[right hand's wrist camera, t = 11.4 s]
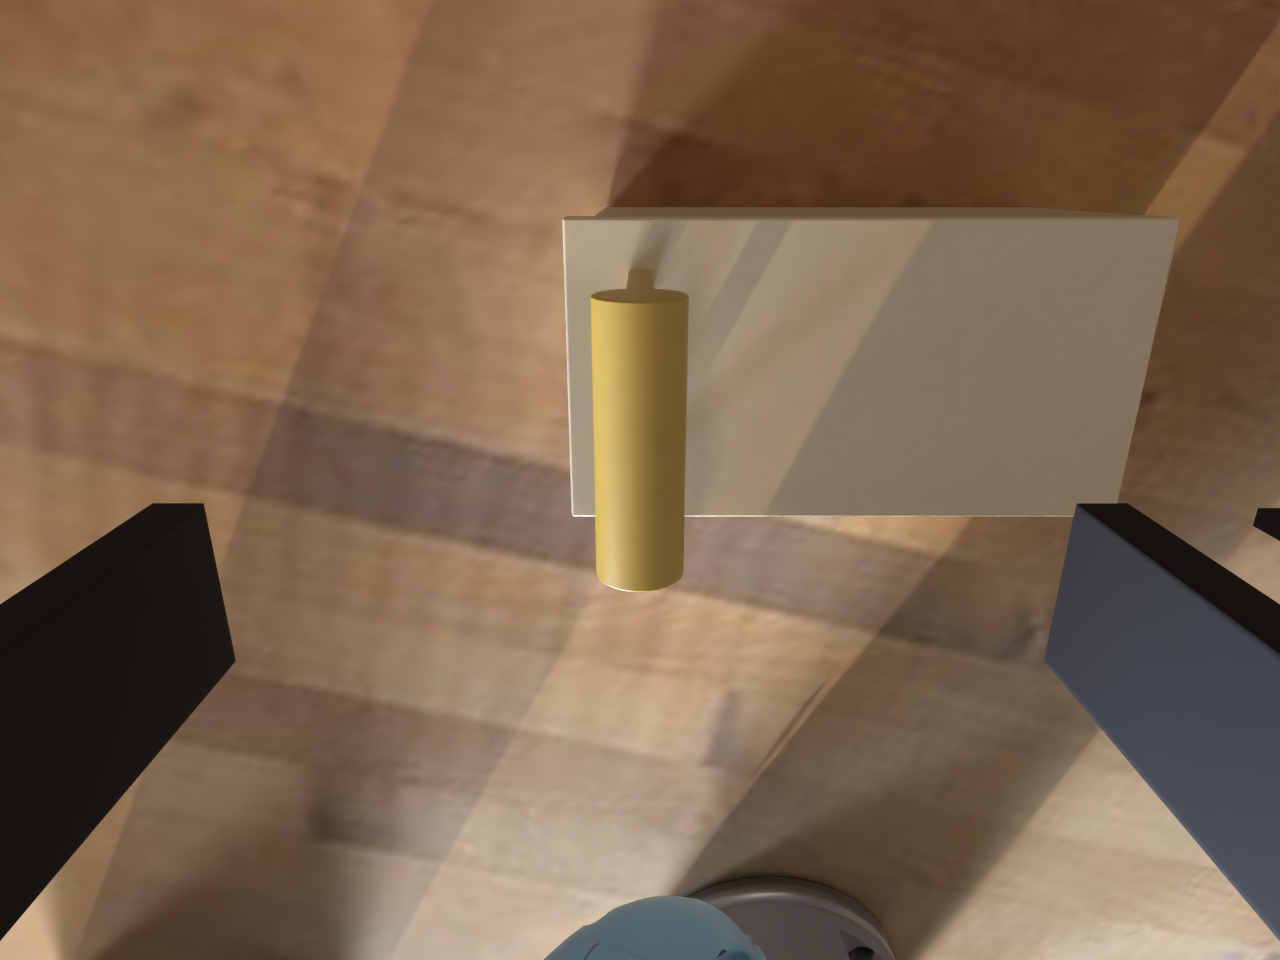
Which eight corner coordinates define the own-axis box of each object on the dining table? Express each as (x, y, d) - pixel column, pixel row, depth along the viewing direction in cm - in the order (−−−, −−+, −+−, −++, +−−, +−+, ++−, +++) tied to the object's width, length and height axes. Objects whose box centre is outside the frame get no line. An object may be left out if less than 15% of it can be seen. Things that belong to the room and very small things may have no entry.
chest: (608, 430, 36) (599, 506, 28) (605, 206, 33) (593, 216, 24) (993, 430, 36) (1100, 506, 28) (1029, 207, 33) (1163, 216, 24)
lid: (573, 506, 28) (546, 641, 20) (564, 216, 24) (527, 234, 16) (1101, 507, 28) (1291, 642, 19) (1164, 216, 24) (1423, 234, 16)
